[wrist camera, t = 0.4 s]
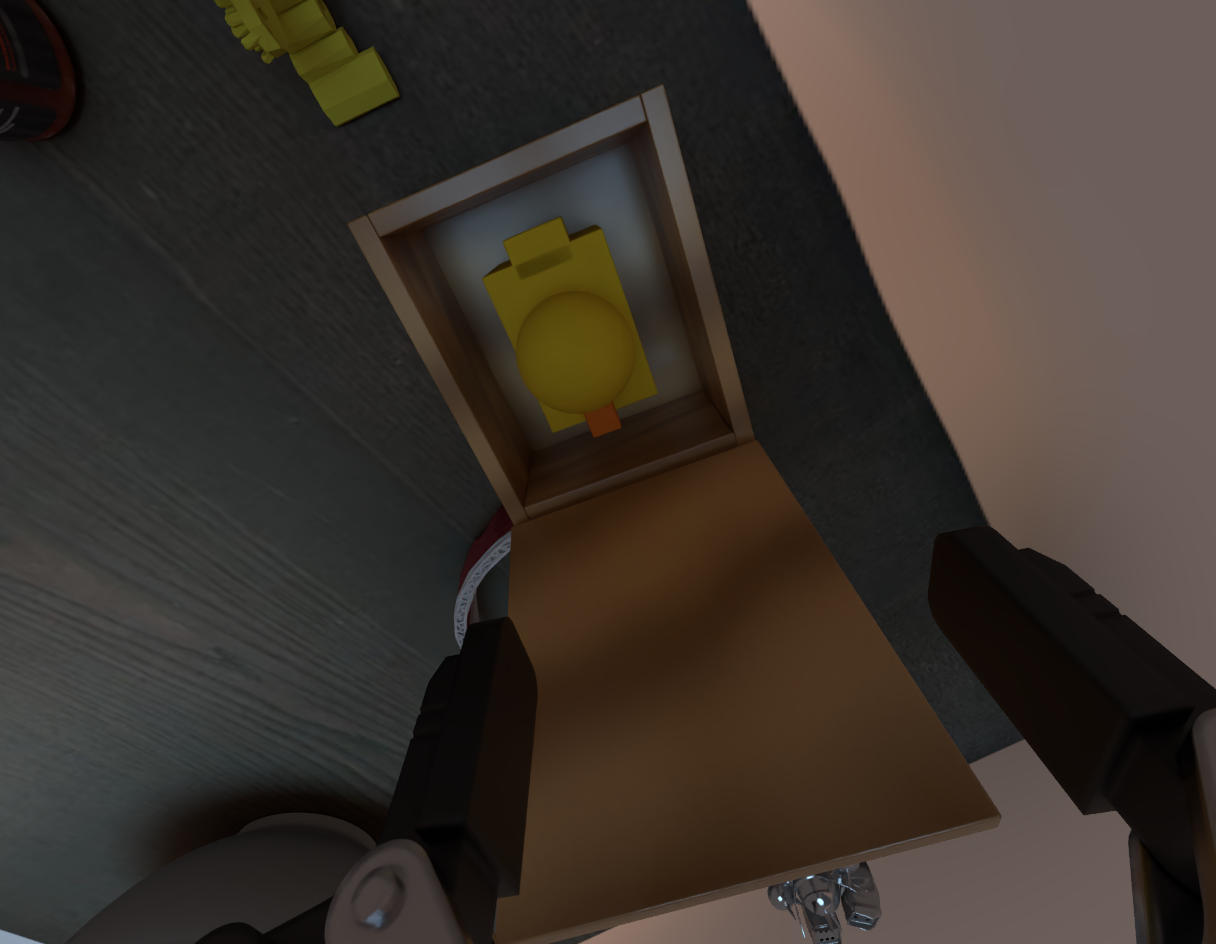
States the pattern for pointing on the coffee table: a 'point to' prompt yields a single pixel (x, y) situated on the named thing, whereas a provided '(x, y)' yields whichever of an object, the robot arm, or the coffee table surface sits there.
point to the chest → (650, 277)
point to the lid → (710, 706)
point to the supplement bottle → (33, 74)
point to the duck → (570, 326)
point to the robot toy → (831, 901)
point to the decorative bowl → (235, 882)
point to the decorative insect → (314, 53)
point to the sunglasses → (480, 569)
